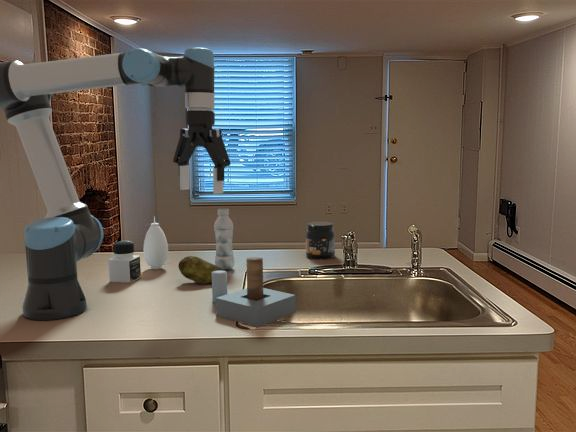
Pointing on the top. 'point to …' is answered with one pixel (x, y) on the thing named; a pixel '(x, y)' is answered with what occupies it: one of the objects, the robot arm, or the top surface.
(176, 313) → the top surface
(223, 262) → the plastic bottle
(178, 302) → the top surface
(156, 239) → the sauce bottle
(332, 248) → the supplement container
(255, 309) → the hole block
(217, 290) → the short pin
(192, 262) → the potato
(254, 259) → the long pin
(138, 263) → the medicine bottle
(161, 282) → the top surface
